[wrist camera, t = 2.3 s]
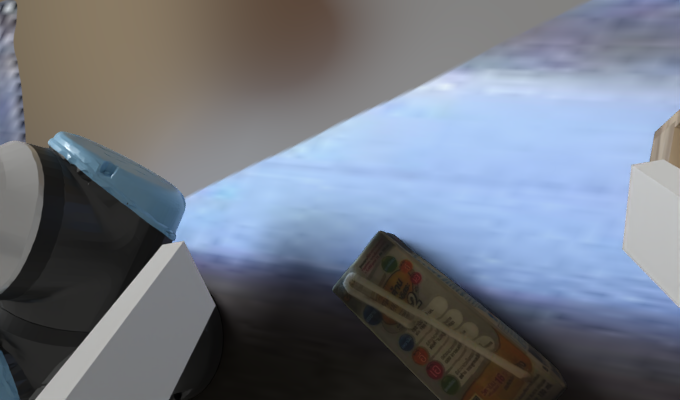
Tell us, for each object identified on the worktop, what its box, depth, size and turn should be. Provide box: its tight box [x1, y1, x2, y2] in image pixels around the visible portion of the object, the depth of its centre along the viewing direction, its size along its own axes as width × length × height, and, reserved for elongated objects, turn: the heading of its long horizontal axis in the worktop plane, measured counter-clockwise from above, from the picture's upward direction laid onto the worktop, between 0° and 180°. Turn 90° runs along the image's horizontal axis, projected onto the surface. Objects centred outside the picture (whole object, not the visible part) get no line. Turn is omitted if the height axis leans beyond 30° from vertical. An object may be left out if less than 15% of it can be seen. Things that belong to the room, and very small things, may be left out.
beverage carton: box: [332, 231, 567, 400], centre depth 35 cm, size 8×19×7 cm, turn 49°
